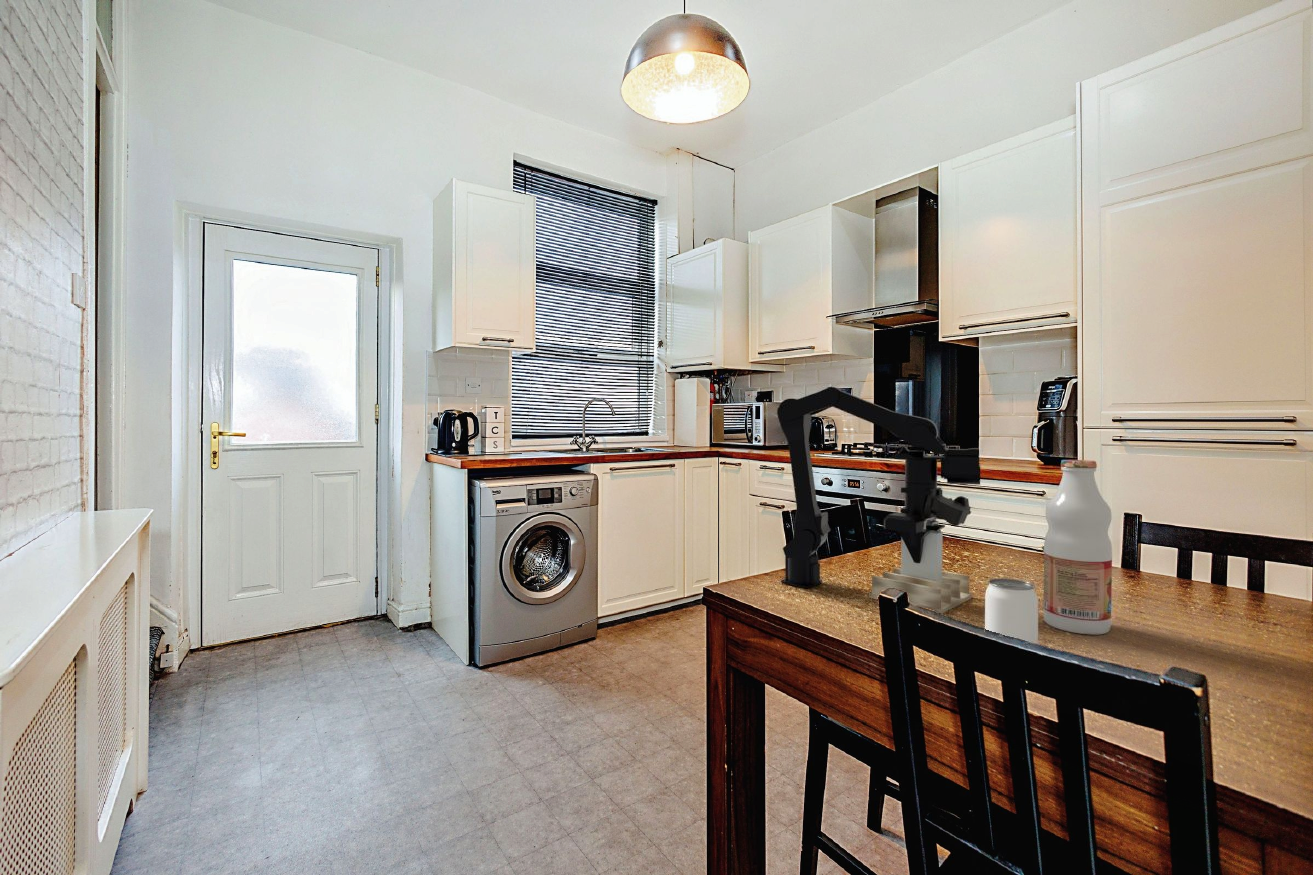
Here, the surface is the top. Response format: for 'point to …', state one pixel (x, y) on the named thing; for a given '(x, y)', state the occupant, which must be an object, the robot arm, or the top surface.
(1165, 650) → the top surface
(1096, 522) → the fruit juice
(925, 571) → the grey upright domino
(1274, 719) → the top surface
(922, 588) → the rack
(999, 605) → the can
